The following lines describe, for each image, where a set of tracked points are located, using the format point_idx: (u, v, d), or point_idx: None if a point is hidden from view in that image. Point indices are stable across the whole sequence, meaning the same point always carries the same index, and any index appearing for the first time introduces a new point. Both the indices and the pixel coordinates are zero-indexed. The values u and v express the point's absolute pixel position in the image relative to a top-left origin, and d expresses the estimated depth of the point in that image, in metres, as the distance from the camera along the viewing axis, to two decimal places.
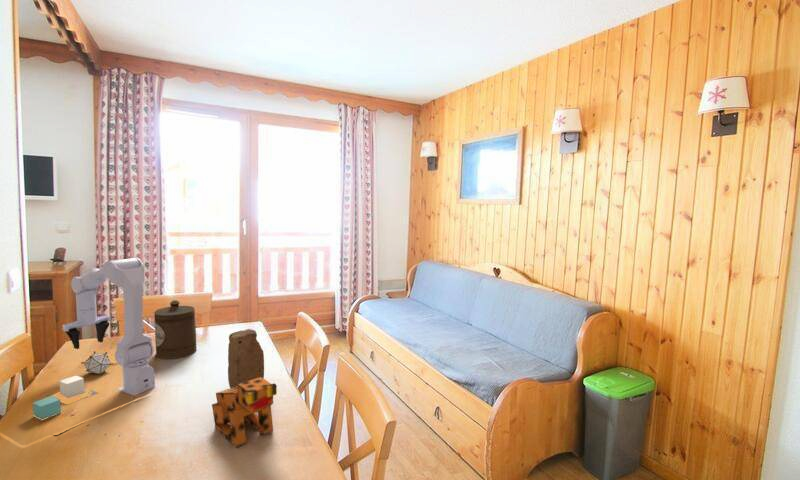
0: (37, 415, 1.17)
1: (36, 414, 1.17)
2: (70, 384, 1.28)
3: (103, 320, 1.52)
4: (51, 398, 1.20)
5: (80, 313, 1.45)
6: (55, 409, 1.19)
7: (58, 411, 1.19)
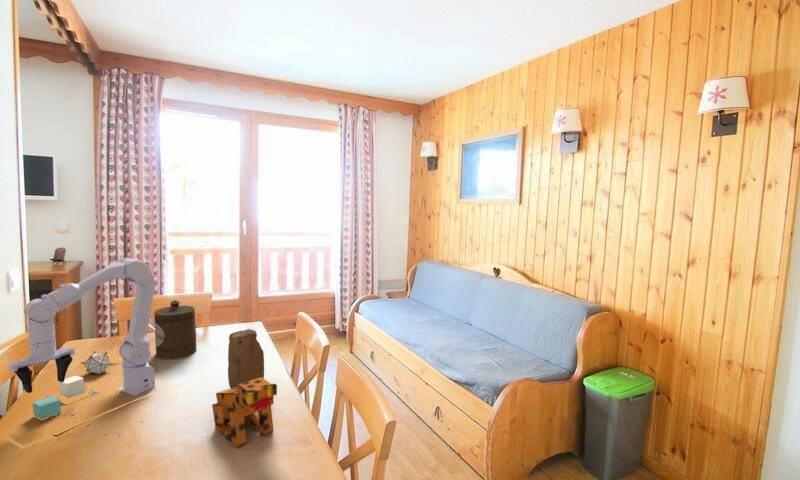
0: (37, 415, 1.17)
1: (36, 414, 1.17)
2: (70, 384, 1.28)
3: (65, 354, 1.21)
4: (51, 398, 1.20)
5: (33, 347, 1.14)
6: (55, 409, 1.19)
7: (58, 411, 1.19)
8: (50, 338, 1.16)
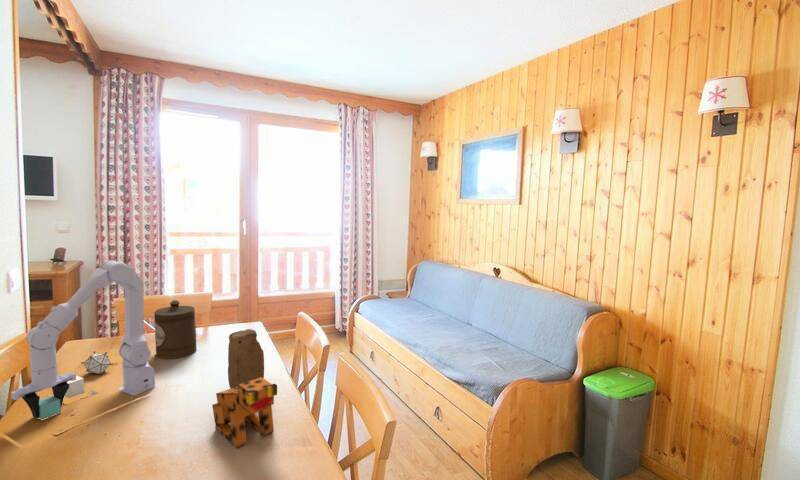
0: None
1: None
2: (70, 384, 1.28)
3: (66, 380, 1.22)
4: (51, 398, 1.20)
5: (35, 375, 1.15)
6: (55, 408, 1.18)
7: (58, 411, 1.19)
8: (52, 365, 1.17)
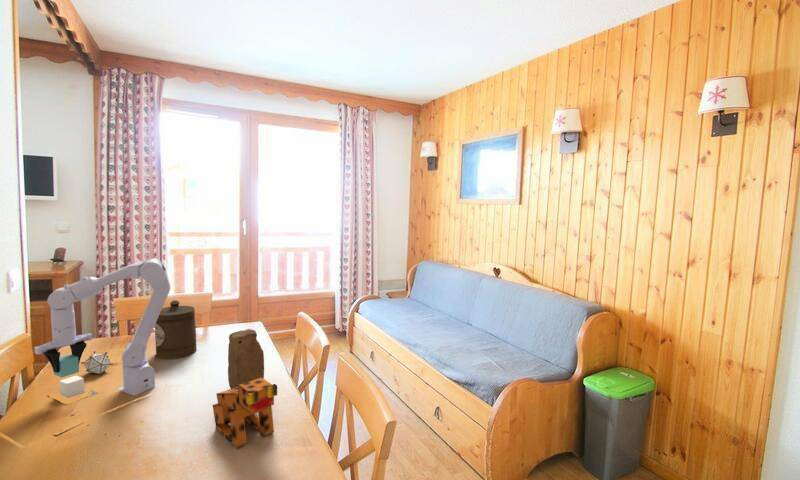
0: None
1: None
2: (70, 384, 1.28)
3: (84, 339, 1.31)
4: (69, 356, 1.29)
5: (55, 332, 1.24)
6: (74, 365, 1.28)
7: (76, 367, 1.28)
8: (66, 325, 1.25)
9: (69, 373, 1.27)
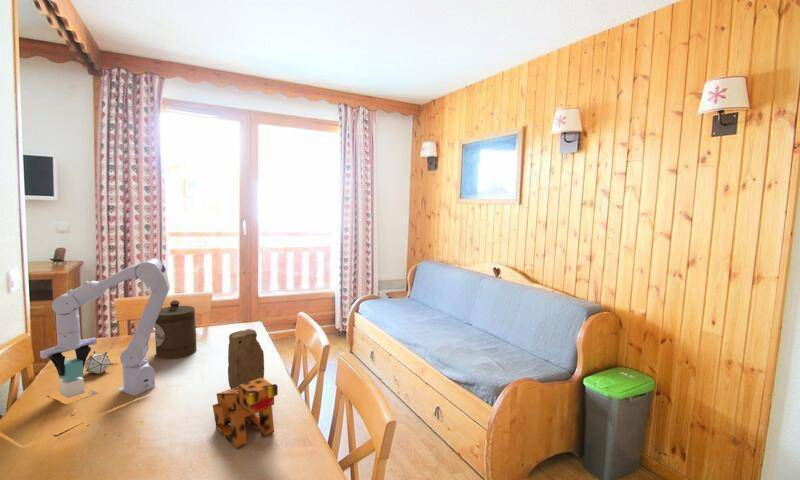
0: None
1: None
2: (70, 384, 1.28)
3: (88, 343, 1.34)
4: (74, 359, 1.32)
5: (60, 337, 1.26)
6: (78, 369, 1.30)
7: (81, 371, 1.31)
8: (70, 330, 1.27)
9: (74, 377, 1.29)
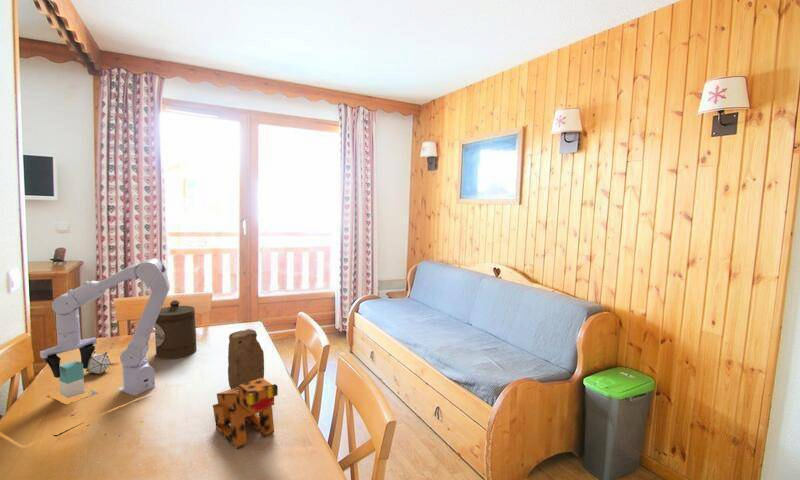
0: (63, 377, 1.28)
1: (62, 376, 1.29)
2: (70, 384, 1.28)
3: (88, 343, 1.34)
4: (75, 362, 1.32)
5: (60, 337, 1.26)
6: (79, 371, 1.30)
7: (81, 374, 1.31)
8: (70, 330, 1.27)
9: (74, 379, 1.29)
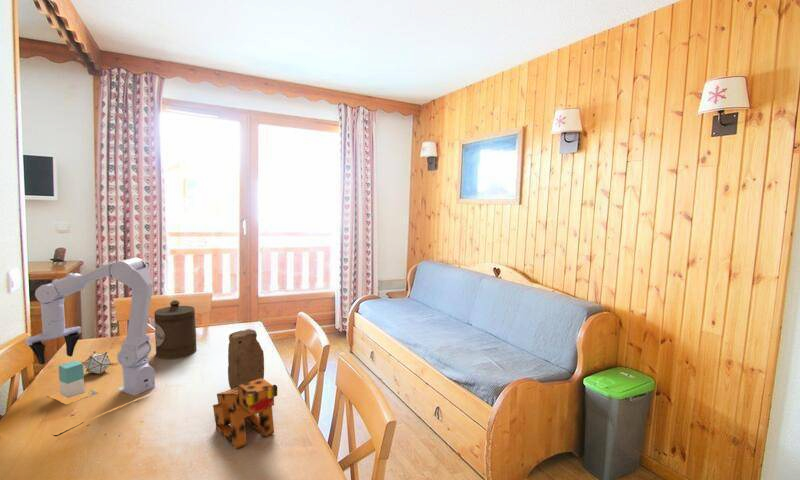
0: (63, 377, 1.28)
1: (62, 376, 1.29)
2: (70, 384, 1.28)
3: (73, 332, 1.38)
4: (75, 362, 1.32)
5: (45, 325, 1.30)
6: (79, 371, 1.30)
7: (81, 374, 1.31)
8: (51, 319, 1.30)
9: (74, 379, 1.29)
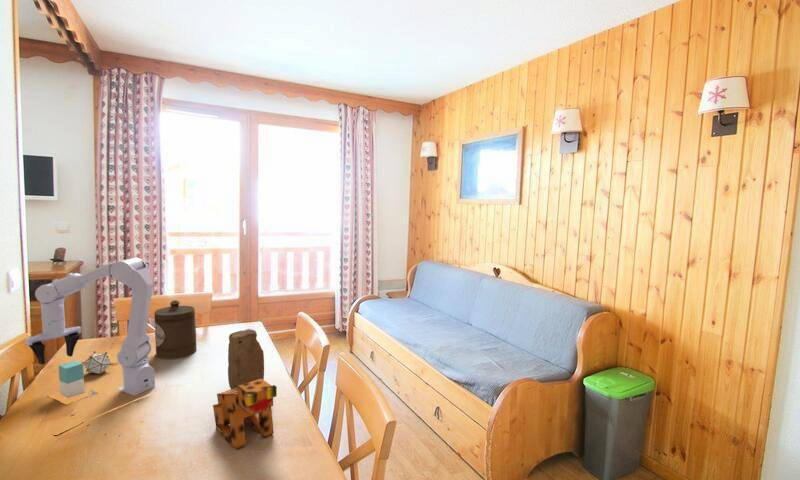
0: (63, 377, 1.28)
1: (62, 376, 1.29)
2: (70, 384, 1.28)
3: (73, 332, 1.38)
4: (75, 362, 1.32)
5: (45, 325, 1.30)
6: (79, 371, 1.30)
7: (81, 374, 1.31)
8: (51, 319, 1.30)
9: (74, 379, 1.29)
